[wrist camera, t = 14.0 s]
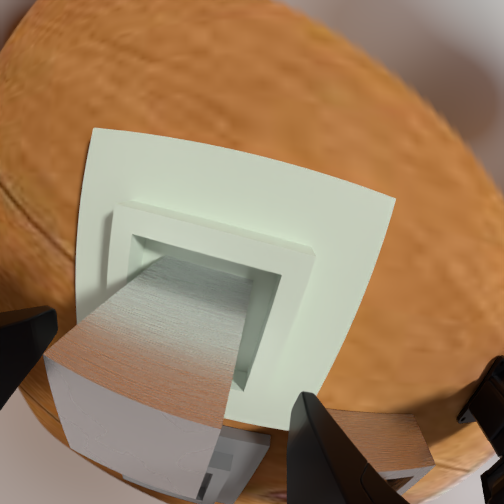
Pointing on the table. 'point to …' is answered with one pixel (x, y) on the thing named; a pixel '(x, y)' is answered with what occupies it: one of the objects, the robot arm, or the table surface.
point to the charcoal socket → (226, 467)
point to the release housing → (388, 445)
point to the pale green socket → (235, 250)
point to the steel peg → (153, 373)
